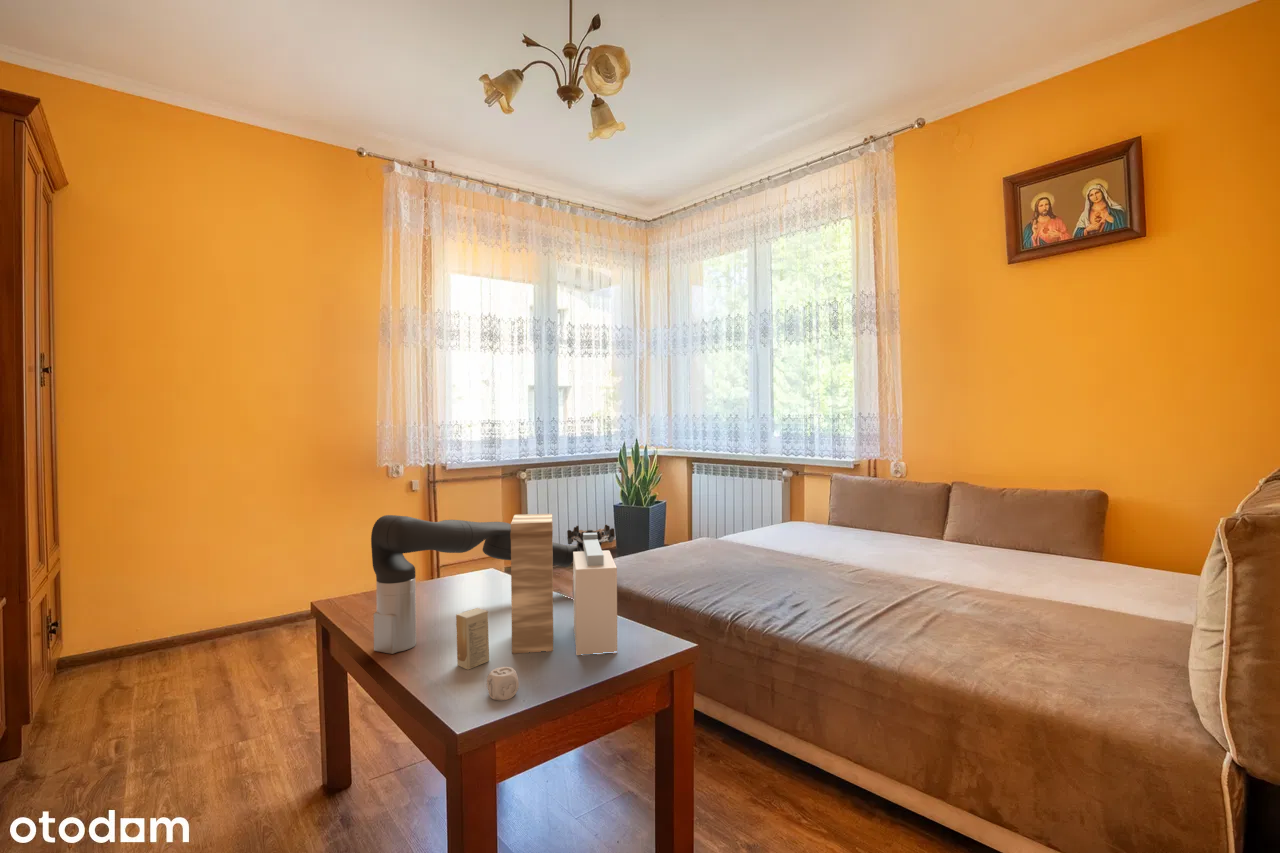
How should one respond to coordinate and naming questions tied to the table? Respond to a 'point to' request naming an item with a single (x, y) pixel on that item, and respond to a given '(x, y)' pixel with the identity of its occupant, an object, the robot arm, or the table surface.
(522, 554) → the tall brown wood-grain block
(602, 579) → the block
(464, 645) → the skincare box
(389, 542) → the robot arm
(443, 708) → the table surface
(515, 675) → the die
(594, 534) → the pale blue-grey block
